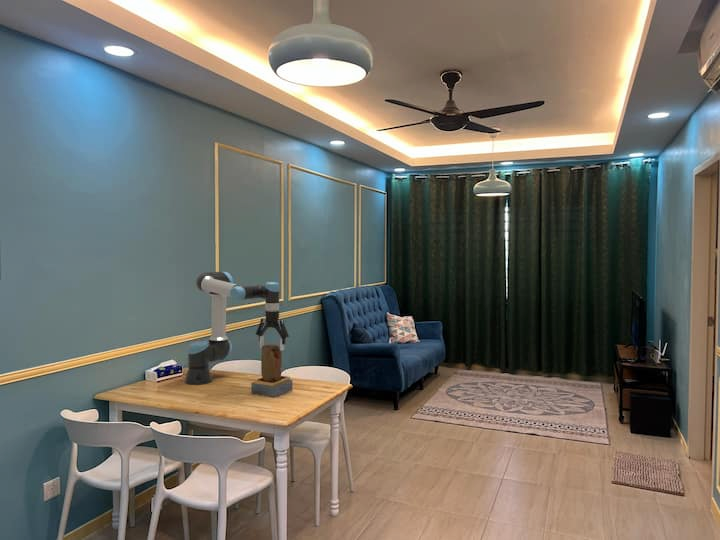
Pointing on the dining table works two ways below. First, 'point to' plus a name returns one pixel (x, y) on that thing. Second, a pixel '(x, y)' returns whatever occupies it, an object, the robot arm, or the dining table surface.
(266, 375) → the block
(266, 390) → the grey square tray
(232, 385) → the dining table surface
